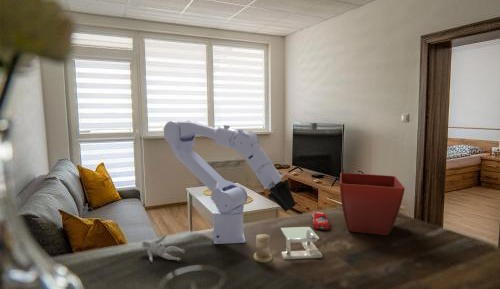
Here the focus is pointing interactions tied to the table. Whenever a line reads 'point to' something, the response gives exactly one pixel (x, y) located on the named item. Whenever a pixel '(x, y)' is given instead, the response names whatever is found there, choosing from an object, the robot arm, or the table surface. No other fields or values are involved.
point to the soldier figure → (160, 249)
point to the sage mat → (297, 232)
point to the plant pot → (370, 202)
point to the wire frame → (307, 244)
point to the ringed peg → (262, 248)
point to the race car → (320, 220)
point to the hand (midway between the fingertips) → (290, 208)
